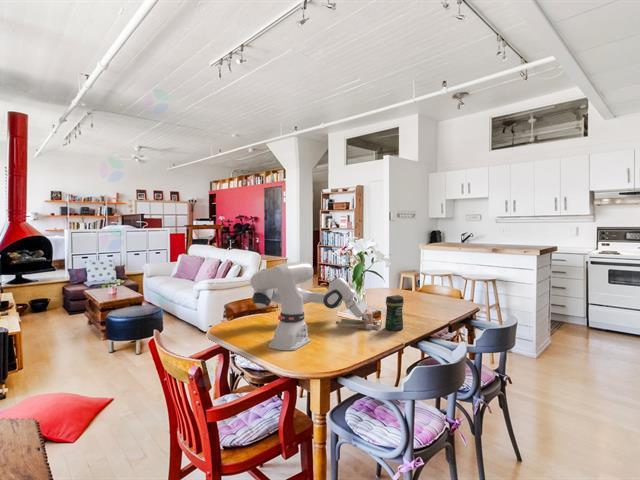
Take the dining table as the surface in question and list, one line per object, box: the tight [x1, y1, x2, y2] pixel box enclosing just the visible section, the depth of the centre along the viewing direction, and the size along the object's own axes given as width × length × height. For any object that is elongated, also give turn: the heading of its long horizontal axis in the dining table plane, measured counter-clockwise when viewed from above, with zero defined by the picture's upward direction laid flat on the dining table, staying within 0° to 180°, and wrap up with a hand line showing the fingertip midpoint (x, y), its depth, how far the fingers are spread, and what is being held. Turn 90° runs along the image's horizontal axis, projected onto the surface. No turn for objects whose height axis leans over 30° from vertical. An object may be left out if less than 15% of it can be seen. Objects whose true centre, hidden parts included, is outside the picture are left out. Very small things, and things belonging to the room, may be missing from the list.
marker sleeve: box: [363, 310, 374, 325], centre depth 203 cm, size 5×4×8 cm
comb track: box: [337, 317, 383, 331], centre depth 204 cm, size 14×24×3 cm, turn 72°
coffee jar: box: [384, 294, 405, 332], centre depth 199 cm, size 10×8×19 cm
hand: (369, 318), depth 203 cm, fingers open, 5 cm apart
